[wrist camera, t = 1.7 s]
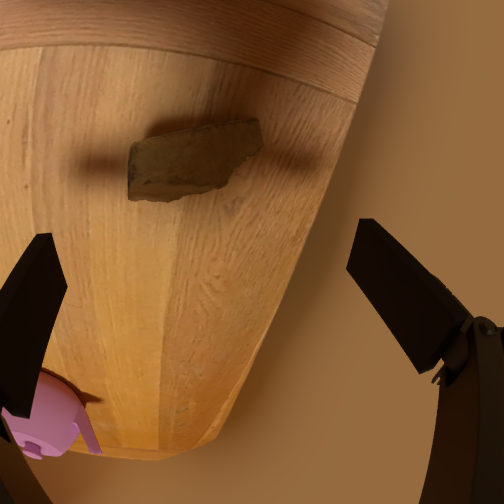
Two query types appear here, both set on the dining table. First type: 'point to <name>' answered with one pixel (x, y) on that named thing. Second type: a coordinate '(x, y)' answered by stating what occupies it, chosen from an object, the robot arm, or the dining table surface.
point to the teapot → (52, 421)
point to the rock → (190, 160)
